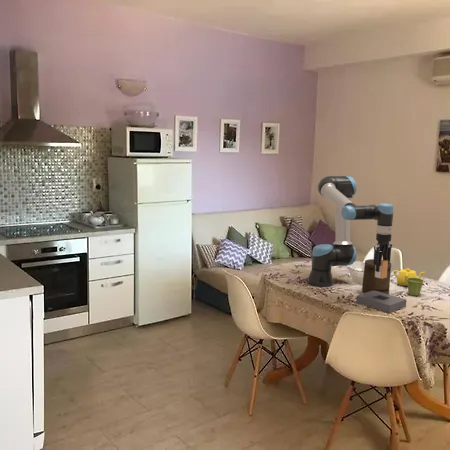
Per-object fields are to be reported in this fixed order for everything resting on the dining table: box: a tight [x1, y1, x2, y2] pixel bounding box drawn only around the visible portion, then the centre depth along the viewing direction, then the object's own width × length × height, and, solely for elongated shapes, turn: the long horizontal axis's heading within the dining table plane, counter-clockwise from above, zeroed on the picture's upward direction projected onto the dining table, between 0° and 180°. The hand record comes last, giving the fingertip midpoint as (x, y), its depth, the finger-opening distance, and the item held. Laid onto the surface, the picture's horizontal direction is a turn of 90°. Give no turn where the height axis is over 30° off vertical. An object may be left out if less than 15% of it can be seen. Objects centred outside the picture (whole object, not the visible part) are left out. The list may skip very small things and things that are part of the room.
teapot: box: [393, 268, 425, 287], centre depth 313 cm, size 14×13×10 cm
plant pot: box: [407, 278, 425, 297], centre depth 295 cm, size 9×9×9 cm
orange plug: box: [375, 259, 388, 279], centre depth 273 cm, size 4×4×9 cm
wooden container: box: [361, 258, 392, 295], centre depth 295 cm, size 15×15×22 cm
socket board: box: [355, 290, 408, 314], centre depth 275 cm, size 20×16×4 cm
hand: (380, 276), depth 273 cm, fingers closed on orange plug, 4 cm apart
